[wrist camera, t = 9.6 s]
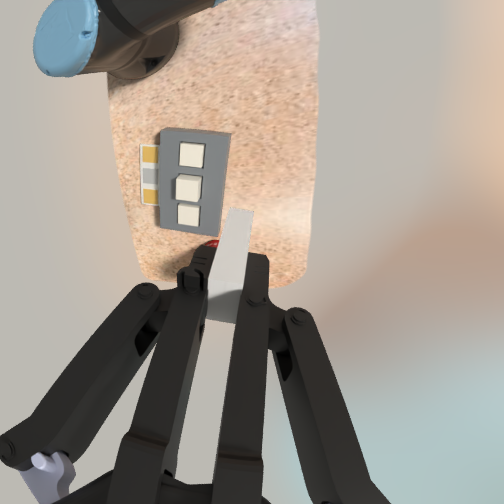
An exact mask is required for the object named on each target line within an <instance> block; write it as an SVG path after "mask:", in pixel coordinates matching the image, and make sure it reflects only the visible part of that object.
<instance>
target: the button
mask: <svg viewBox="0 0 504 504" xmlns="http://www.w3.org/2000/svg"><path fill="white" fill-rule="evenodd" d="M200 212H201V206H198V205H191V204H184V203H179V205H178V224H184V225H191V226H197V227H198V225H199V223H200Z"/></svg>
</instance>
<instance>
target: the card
mask: <svg viewBox="0 0 504 504" xmlns="http://www.w3.org/2000/svg"><path fill="white" fill-rule="evenodd" d="M159 164H160V145H157V144H140V174H141V201H142V204H147V205H154V206H160V200H159Z"/></svg>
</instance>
